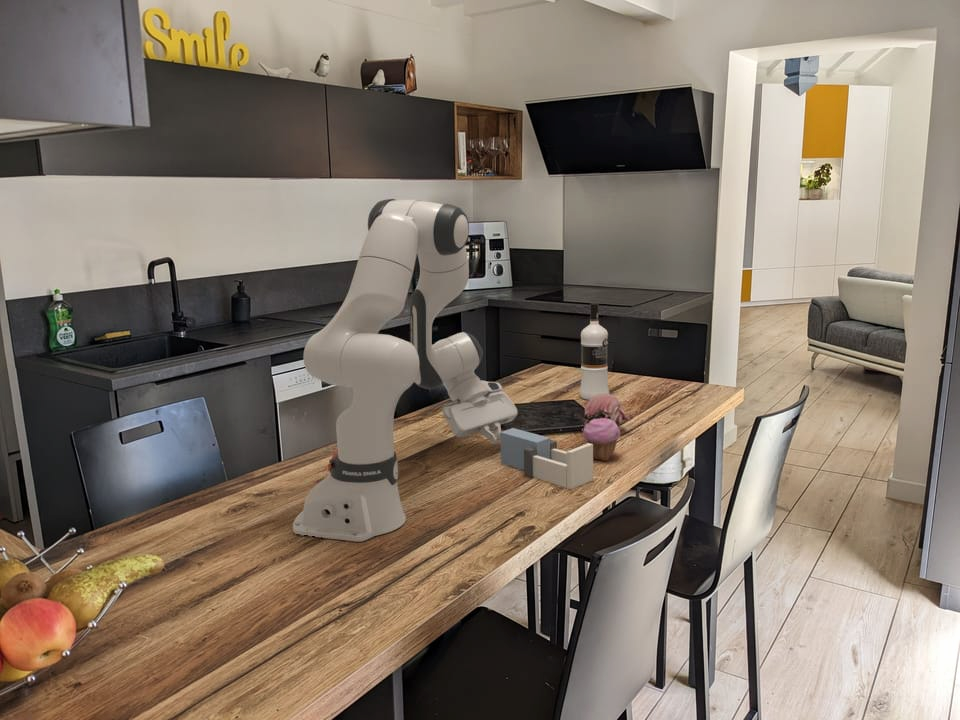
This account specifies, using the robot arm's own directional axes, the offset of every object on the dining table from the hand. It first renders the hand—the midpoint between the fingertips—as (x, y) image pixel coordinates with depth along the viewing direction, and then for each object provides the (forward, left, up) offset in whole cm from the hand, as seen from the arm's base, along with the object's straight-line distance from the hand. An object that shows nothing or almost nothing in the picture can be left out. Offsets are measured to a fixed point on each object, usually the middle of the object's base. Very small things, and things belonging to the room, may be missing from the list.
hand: (498, 441), depth 192 cm
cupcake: (+25, +1, -5) cm, 26 cm away
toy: (+27, +21, -5) cm, 35 cm away
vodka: (+25, +58, -5) cm, 64 cm away
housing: (+15, -13, -4) cm, 20 cm away
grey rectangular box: (+7, -6, -4) cm, 10 cm away
